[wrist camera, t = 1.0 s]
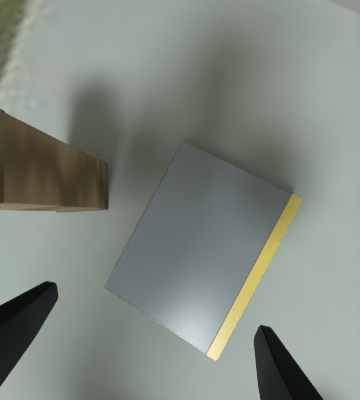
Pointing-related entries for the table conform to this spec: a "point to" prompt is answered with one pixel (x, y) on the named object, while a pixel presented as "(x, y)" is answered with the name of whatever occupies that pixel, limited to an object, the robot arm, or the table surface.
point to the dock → (202, 247)
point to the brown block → (46, 172)
